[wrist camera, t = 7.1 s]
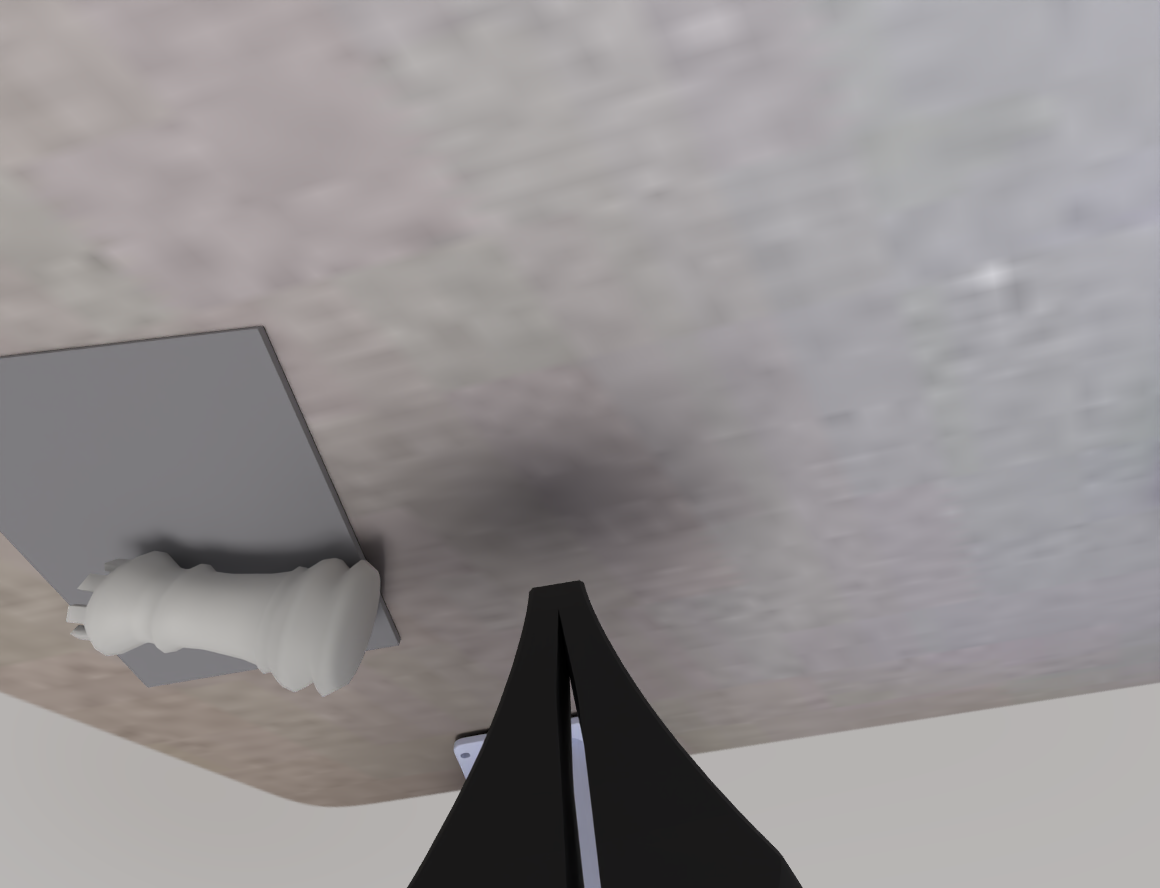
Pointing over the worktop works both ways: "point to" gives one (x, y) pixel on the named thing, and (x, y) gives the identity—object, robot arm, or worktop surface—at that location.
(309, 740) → the worktop surface
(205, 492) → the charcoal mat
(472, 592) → the worktop surface
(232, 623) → the rook chess piece
